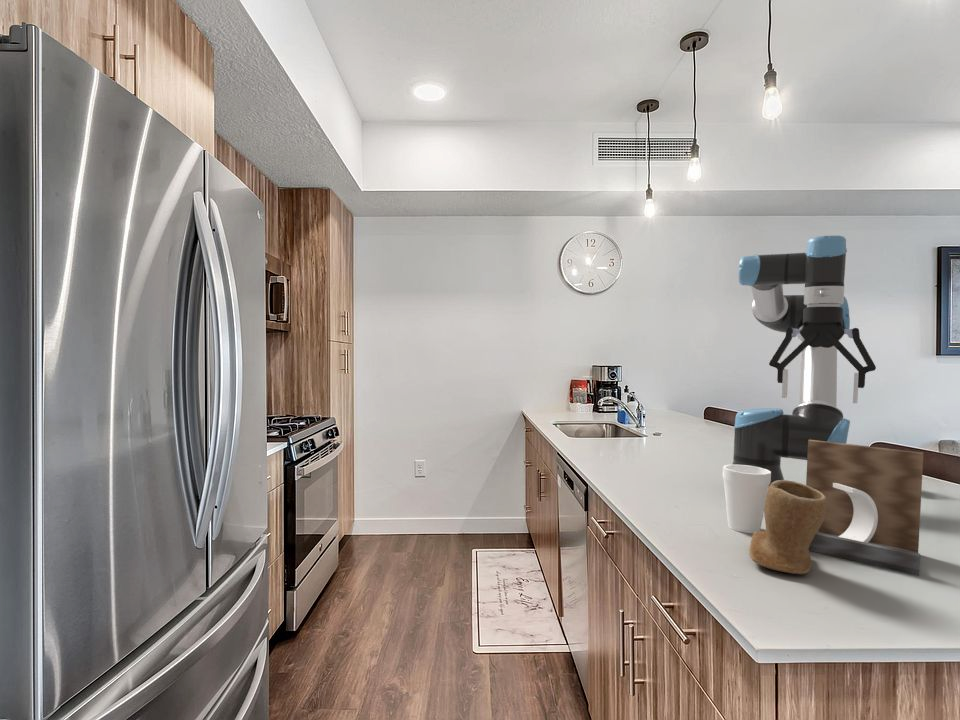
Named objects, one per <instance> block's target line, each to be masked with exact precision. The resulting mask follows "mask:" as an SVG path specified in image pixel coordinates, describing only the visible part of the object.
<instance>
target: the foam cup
mask: <svg viewBox="0 0 960 720" xmlns="http://www.w3.org/2000/svg"><path fill="white" fill-rule="evenodd" d="M722 479H723V487H724V496H725V497H724V498H725V499H724V500H725V507H726V508H725V509H726V518H727V524H728V525H727V526H728V528H730V529H732V530H733V531H736V532H739V533H745V534H754V533H755V532H758V531H761V528H762V524H763V519H764V507H765V501H766V495H767V491H768V488H769V484H770V483H771V471H769V470H767V469H764V468H760V467H755V466H749V465H732V464H724V465H723V466H722Z"/></svg>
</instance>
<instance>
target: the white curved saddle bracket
mask: <svg viewBox="0 0 960 720" xmlns="http://www.w3.org/2000/svg"><path fill="white" fill-rule="evenodd" d="M833 487H834V488H837V489H840V490H843V491H845V492H846V493H847V494H848V495H849V496H850V498H851V500H852V503H853V510H854V512H853V518H852V522H851V524H850V526H849V527H848V529H847V530H846V531H845V532H844V533H843V534H842V535H840V536H838V537H842V538H847V539H851V540H856V541H861V542H866V543H868V542H869V541H870V540H871V538H872V537H873V535H874V533H875V530H876V527H877V523H878V513H877V508H876V505H875V503H874V501H873V500H872V498H871V497H870V496H869V495H868V494H867V493H865V492H863V491H861V490H858V489H855V488H851V487H848V486H845V485H842V484H838V483H833Z"/></svg>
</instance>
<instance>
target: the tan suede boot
mask: <svg viewBox="0 0 960 720" xmlns="http://www.w3.org/2000/svg"><path fill="white" fill-rule="evenodd" d="M827 504H828V503H827V498H826V497H825V495H824V494H822V493H821V492H820V491H818V490H816V489H813V488H812V487H810V486H807V485H806V484H804V483H802V482H801V483H800V482H798V481H793V480H787V479H784V480H777V481H774V482H773V483H771V485H770V486H769V488H768V491H767V495H766V501H765V507H764V514H763V516H764V520H765V521H764V522H765V530H760V531H758V532H755V533H752V536H751V539H750V545H749V548H748V549H749V551H748V552H749V557H750V559H751V561H753V562H754V563H755V564H757V565H759V566H760V567H764V568H767V569H770V570H773V571H777V572H782V573H787V574H797V575H805V574H808V573H809V572H810V569H811V568H812V557H811V554H810V551H809V550H808V549H809V546H810V544H811V542H812V540H813V538H814V536H815V534H816V533H817V531H818V529H819V528H820V526H821V524H822V523H823V521H824V518H825V515H826V509H827Z"/></svg>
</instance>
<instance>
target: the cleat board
mask: <svg viewBox="0 0 960 720" xmlns="http://www.w3.org/2000/svg"><path fill="white" fill-rule="evenodd" d="M923 466H924V452H921V451H913V450H903V449H894V448H888V447H886V448H885V447H878V446H877V447H876V446H869V445H860V444H859V445H858V444H851V443H846V444H844V443H835V442H826V441H818V440H808V455H807V460H806V476H805V477H806V479H805V485H807V486H810V487H812V488H813V489H816V490H818V491H820V492H821V493H822V494H824V495H825V497H826V498H827V503H828V504H827V509H826V515H825V518H824V521H823V523H822V524H821V526H820V528H819V529H818V531H817V533H816V534H815V536H814V538H813V540H812V542H811V544H810V546H809V549H808V550H809V552H812V553H817V554H822V555H827V556H831V557H836V558H839V559H843V560H848V561H852V562H856V563H860V564H861V563H862V564H866V565H870V566H875V567H879V568H883V569H888V570H893V571H897V572H902V573H904V574H909V575H915V576H920V570H921V569H920V568H921V553H919V545H920V544H919V543H920V527H921V526H920V525H921V509H922V508H921V507H922V505H921V504H922V489H923V487H922V485H923V470H924V469H923V468H924V467H923ZM833 483H838V484H842V485H845V486H848V487H851V488H855V489H858V490H861V491H863V492H865V493H867V494H868V495H869V496H870V497H871V498H872V500H873V501H874V503H875V505H876V508H877V513H878V523H877V527H876V530H875V533H874V535H873V537H872V538H871V540H870V541H869V542H868V543H866V542H861V541H856V540H851V539H847V538H842V537H838V536H840V535H842V534H843V533H844V532H845V531H846V530H847V529H848V527H849V526H850V524H851V522H852V518H853V512H854V510H853V503H852V500H851V498H850V496H849V495H848V494H847V493H846V492H845V491H843V490H840V489H837V488H834V487H833Z"/></svg>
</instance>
